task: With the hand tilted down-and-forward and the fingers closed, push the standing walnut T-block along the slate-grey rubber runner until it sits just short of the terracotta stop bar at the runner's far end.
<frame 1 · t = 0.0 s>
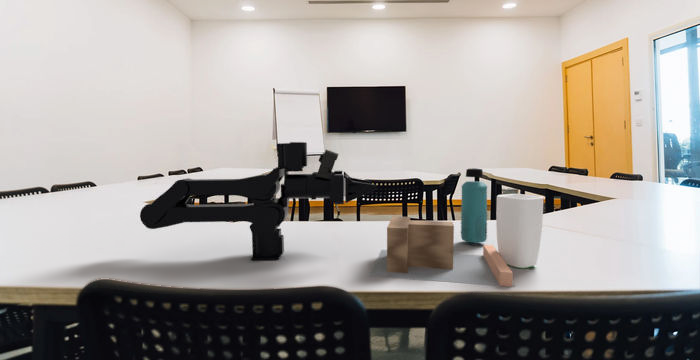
hand: (373, 185, 79), 17 cm above the table, tool horizontal, fingers open, 9 cm apart
cup: (517, 266, 72), on the table
t block: (420, 264, 72), resting on runner mat
runner mat: (437, 267, 71), on the table
teal bottle: (473, 245, 87), on the table
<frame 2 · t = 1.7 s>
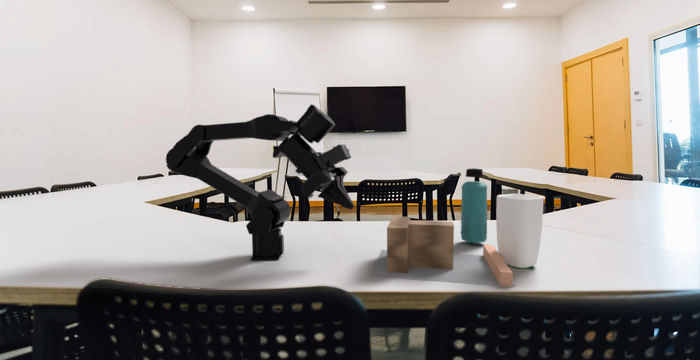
hand: (352, 207, 74), 12 cm above the table, tool tilted 45°, fingers closed
nothing on the table moved.
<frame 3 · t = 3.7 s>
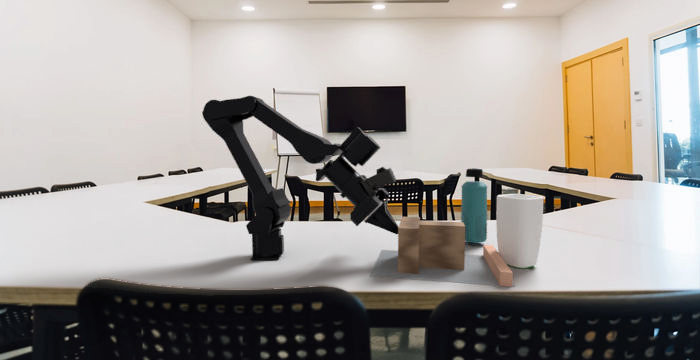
hand: (399, 232, 72), 7 cm above the table, tool tilted 45°, fingers closed
t block: (431, 264, 71), resting on runner mat
everything else where it was.
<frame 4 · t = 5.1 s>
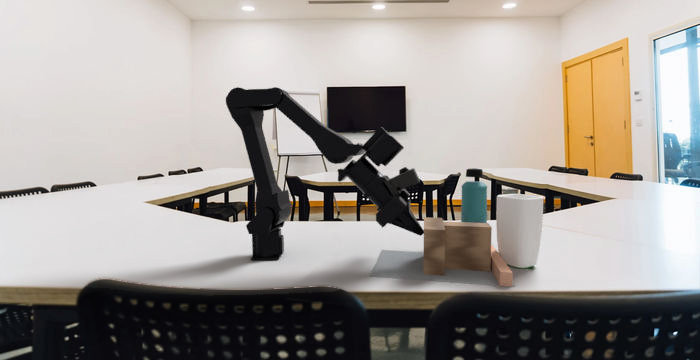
hand: (422, 233, 71), 7 cm above the table, tool tilted 45°, fingers closed, pressing on t block
t block: (455, 266, 70), resting on runner mat, touching gripper
everything else where it was.
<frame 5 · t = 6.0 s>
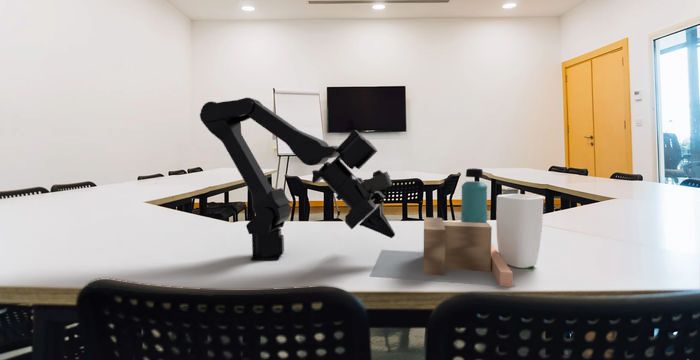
hand: (393, 236, 72), 6 cm above the table, tool tilted 45°, fingers closed
t block: (455, 266, 70), resting on runner mat
everything else where it was.
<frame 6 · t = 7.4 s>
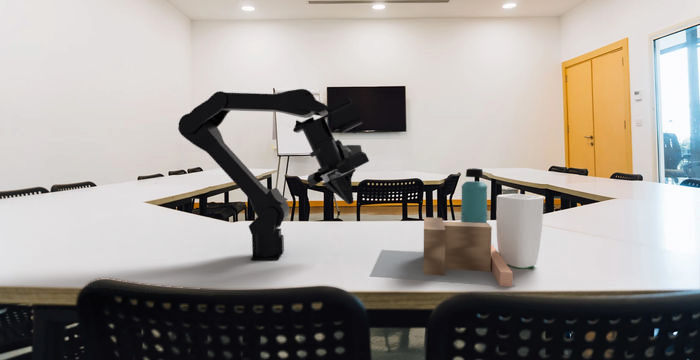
hand: (351, 203, 78), 12 cm above the table, tool tilted 25°, fingers closed
nothing on the table moved.
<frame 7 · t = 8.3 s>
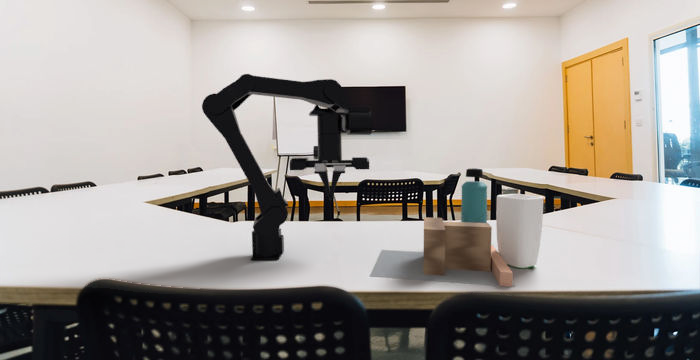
hand: (330, 199, 82), 13 cm above the table, tool pointing down, fingers closed
nothing on the table moved.
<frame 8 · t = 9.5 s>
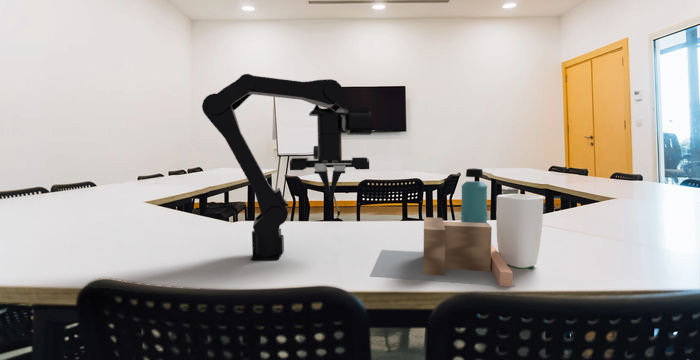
hand: (330, 199, 82), 13 cm above the table, tool pointing down, fingers closed
nothing on the table moved.
at the end: t block 0.5 cm from the target spot, resting on runner mat; t block tilted 0°; t block moved 7.1 cm from its start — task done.
